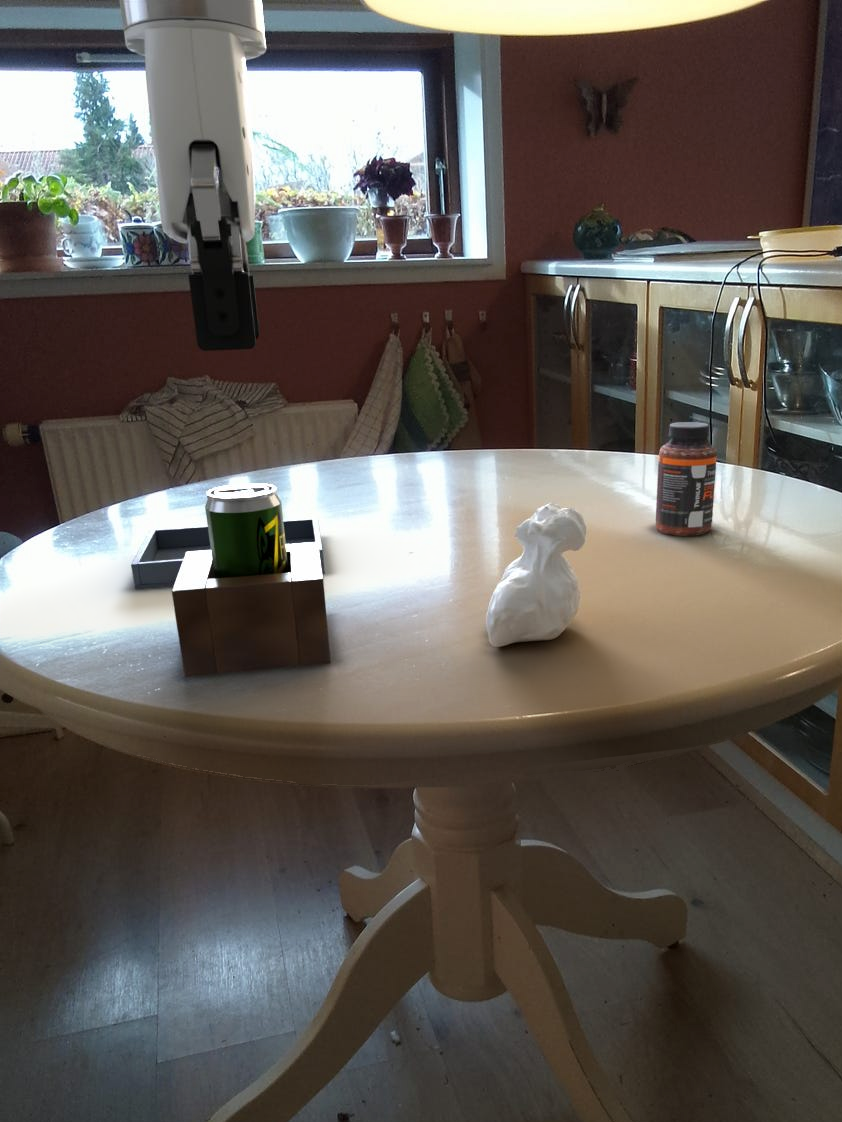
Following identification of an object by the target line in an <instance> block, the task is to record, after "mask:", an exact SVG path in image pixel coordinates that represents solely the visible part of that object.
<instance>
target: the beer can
mask: <svg viewBox="0 0 842 1122" xmlns="http://www.w3.org/2000/svg"><path fill="white" fill-rule="evenodd" d="M206 499H207V500H206V503H205V506H204V509H205V516H206V517H205V518H206V524H207V526H208V532H209V539H210V546H211V554H212V561H213V568H214V576H215V579H217V578H230V577H242V576H254V575H267V574H279V573H289V570H288V561H287V552H286V542H285V533H284V523H283V520H284V514H283V506H282V505H283V504H282V501H281V499H280V497H279V495H278V490H277V487H276V486H275V485H273V484H268V483H238V484H237V483H236V484H235V483H234V484H229V485H223V486H218V487H213V488H212V489H209V490H208V491H206Z"/></svg>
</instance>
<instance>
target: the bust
mask: <svg viewBox="0 0 842 1122" xmlns="http://www.w3.org/2000/svg"><path fill="white" fill-rule="evenodd" d="M585 522H586V521H585V519H584V517H583V515H582V513H580V512H579V511H578V510H576V509H575V508H573V507H564V508H563V507H560V504H558V503H557V504H555V503H554V502H552V501H550V502H549V503H548V504H546V505H543V506H541V507H537V509H536V510H535V513H533V514H532V516H530V517H528V519H524V521H523V522H522V523H521V524H520V525H518V526H516V528H515V533H514V537H515V538H516V539H517V541H518V543H519V544H520V545H521V546H522V548H523V552H522V554H521V555H520V556H519V557H518V558H516V559H515V560H513V561H512V562H511V563H509V565H508V566H507V567H505V570H504V572H503V575H502V578H501V579H500V581H499V582H498V583H497V585H496V588H495V589H494V591H493V593H492V595H491V598H490V601H489V604H488V608H487V613H486V616H485V627H486V632H487V635H488V642H489V643H490V645H491V646H493V647H495V648H500V647H504V646H508V645H511V644H514V643H525V642H537V641H550V640H551V641H552V640H554V639H556V638H557V637H559V636H560V635H561V634H562V633H563V632H564V631H565V630H567V627H568V626H570V625H571V624H572V622H573V621H574V620H575V617H576V615H577V613H578V611H579V606H580V599H581V592H580V591H581V590H580V589H579V581H578V577H577V575H576V573H575V571H573V569H572V565H571V564H570V561H569V560H568V558H567V557H566V556H565V555H564V554H563V553H565V552H569V551H573V552H577V551H579V550H581V548H583V546H584V545H585V543H586V535H587V525H586V523H585Z"/></svg>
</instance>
